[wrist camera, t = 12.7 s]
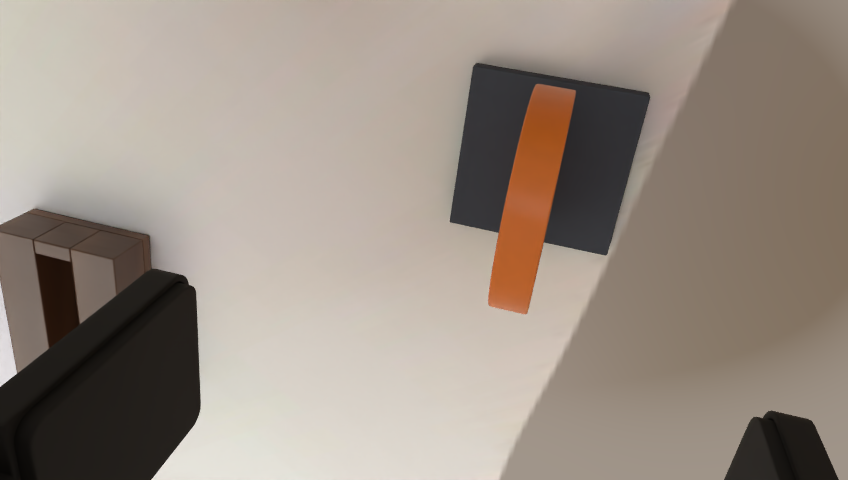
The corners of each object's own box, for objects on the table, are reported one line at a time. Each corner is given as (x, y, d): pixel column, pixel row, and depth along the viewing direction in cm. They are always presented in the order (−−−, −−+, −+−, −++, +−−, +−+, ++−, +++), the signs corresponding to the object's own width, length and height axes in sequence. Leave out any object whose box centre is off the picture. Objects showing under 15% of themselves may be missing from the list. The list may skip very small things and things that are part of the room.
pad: (452, 216, 26) (449, 222, 26) (475, 62, 24) (473, 65, 23) (606, 249, 25) (607, 256, 25) (649, 92, 23) (650, 96, 22)
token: (508, 247, 26) (476, 349, 20) (544, 63, 23) (520, 116, 16) (539, 254, 25) (517, 359, 19) (580, 69, 22) (570, 125, 16)
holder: (56, 364, 35) (20, 393, 33) (33, 208, 31) (-10, 229, 29) (159, 393, 34) (129, 424, 32) (149, 235, 30) (113, 259, 28)
